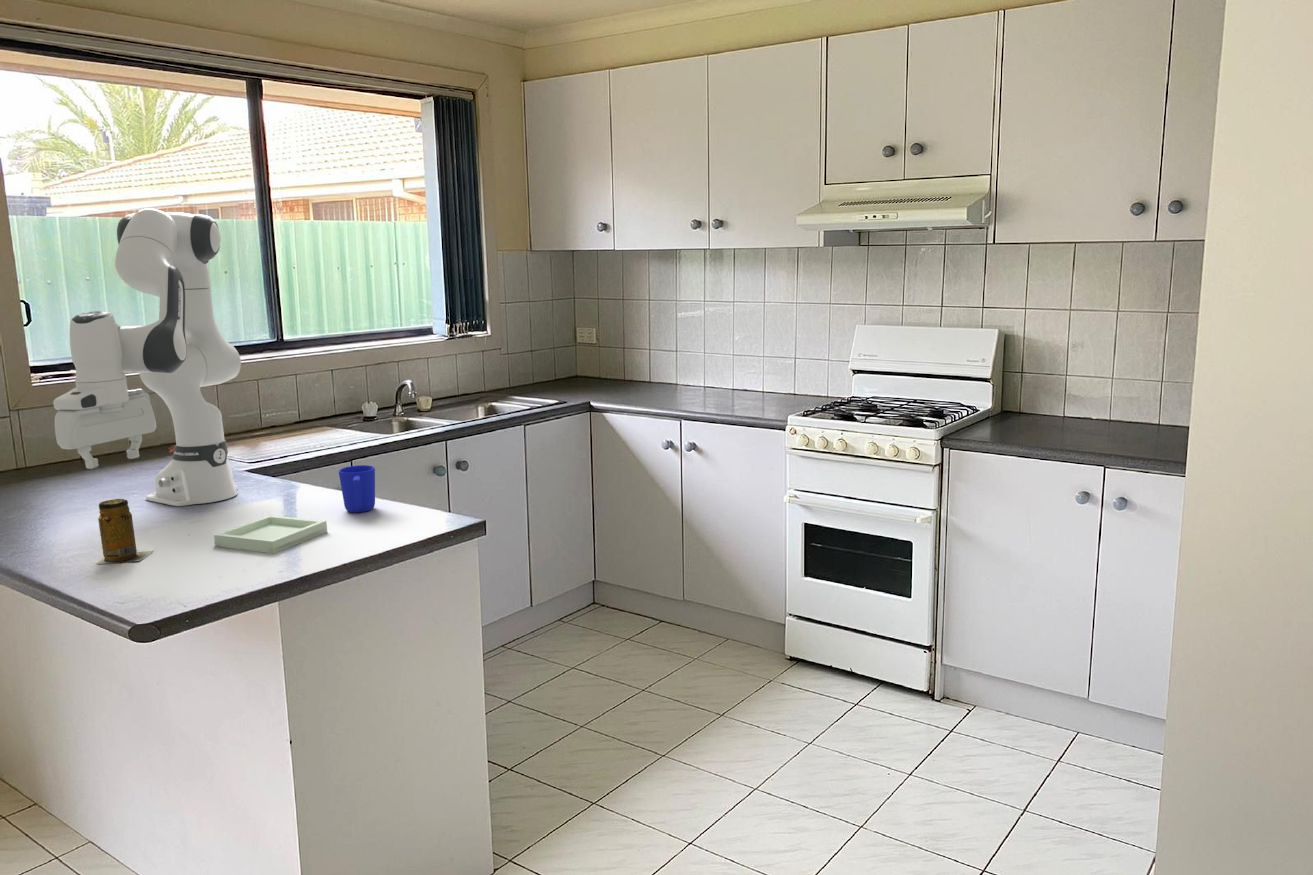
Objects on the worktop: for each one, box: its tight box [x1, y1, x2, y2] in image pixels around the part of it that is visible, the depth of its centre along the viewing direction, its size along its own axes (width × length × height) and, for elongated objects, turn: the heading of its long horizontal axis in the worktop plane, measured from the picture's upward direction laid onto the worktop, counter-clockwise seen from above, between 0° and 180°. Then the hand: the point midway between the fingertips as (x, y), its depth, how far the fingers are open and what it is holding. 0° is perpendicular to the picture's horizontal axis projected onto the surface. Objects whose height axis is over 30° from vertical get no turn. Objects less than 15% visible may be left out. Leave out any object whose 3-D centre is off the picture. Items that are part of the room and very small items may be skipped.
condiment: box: [95, 498, 154, 565], centre depth 203 cm, size 7×8×12 cm
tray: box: [213, 514, 328, 554], centre depth 214 cm, size 16×16×2 cm
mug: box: [338, 464, 376, 514], centre depth 233 cm, size 8×12×10 cm
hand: (113, 462), depth 200 cm, fingers open, 8 cm apart
